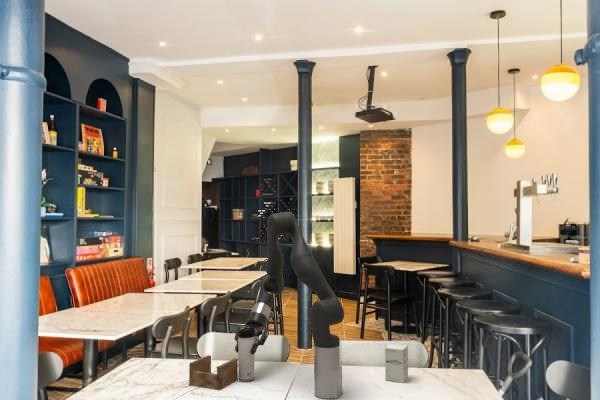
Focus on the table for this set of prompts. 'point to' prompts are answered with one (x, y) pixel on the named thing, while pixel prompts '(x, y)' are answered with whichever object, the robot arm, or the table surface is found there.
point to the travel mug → (245, 355)
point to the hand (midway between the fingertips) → (244, 352)
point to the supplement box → (396, 363)
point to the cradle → (204, 377)
